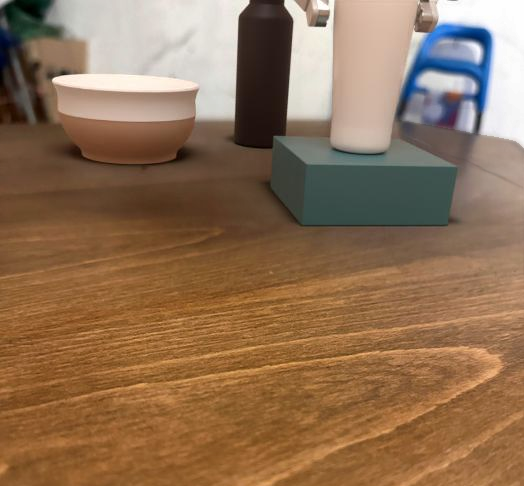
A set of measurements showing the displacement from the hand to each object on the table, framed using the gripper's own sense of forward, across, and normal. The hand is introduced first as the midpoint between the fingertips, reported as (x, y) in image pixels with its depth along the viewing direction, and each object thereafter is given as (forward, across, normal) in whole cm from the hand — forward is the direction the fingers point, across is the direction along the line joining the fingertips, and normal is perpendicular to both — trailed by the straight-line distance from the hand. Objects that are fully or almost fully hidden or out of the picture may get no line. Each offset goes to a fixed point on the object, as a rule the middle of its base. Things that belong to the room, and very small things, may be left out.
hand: (374, 24), depth 55 cm
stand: (+11, 0, +10) cm, 15 cm away
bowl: (-5, -20, +26) cm, 33 cm away
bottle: (-11, -3, +33) cm, 35 cm away
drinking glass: (+7, 0, +7) cm, 10 cm away
